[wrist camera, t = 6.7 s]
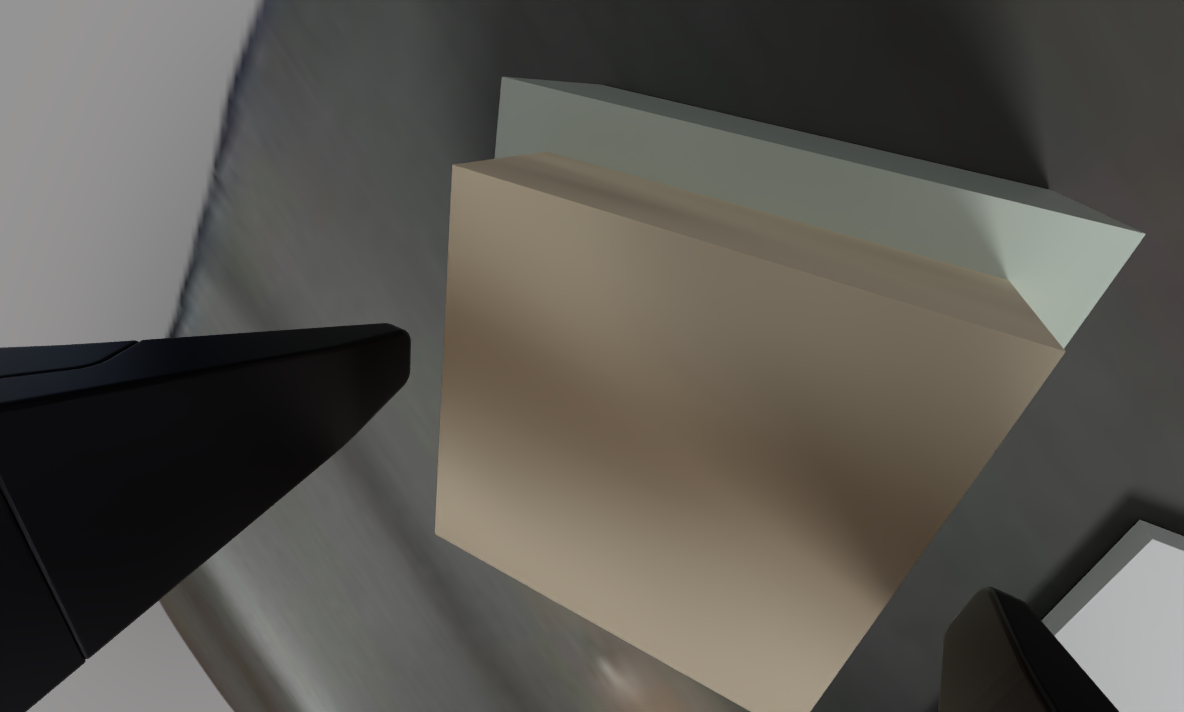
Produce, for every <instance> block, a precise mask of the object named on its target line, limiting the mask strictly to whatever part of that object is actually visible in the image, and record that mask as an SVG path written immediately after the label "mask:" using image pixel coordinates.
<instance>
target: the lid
mask: <svg viewBox="0 0 1184 712" xmlns="http://www.w3.org/2000/svg"><path fill="white" fill-rule="evenodd" d="M1065 352H1066V351H1065V350H1064V349H1063V347H1062V346H1061V345H1060V344H1059V342H1058V341H1057V340H1056V339H1055V337H1054V336H1053V335H1052V334H1051V332H1050V331H1049V330H1048V329H1047V327H1046V326H1045V325H1044V324H1043V322H1042V321H1041V320H1040V319H1039V317H1038V316H1037V315H1036V314H1035V312H1034V311H1033V310H1032V309H1031V307H1030V306H1029V305H1028V304H1027V302H1026V301H1025V300H1024V299H1023V297H1022V296H1021V295H1020V294H1019V292H1018V291H1017V290H1016V289H1015V287H1014V286H1013V285H1012V284H1011V282H1010V281H1009V280H1007V279H1004V278H1000V277H996V276H993V275H989V274H986V273H982V272H978V271H975V270H971V269H968V268H964V267H960V266H957V265H953V264H950V263H946V262H942V261H939V260H935V259H932V258H928V257H924V256H921V255H917V254H914V253H910V252H906V251H903V250H899V249H896V248H892V247H888V246H885V245H881V244H878V243H874V242H870V241H867V240H863V239H860V238H856V237H852V236H849V235H845V234H842V233H838V232H835V231H831V230H827V229H824V228H820V227H817V226H813V225H809V224H806V223H802V222H799V221H795V220H791V219H788V218H784V217H781V216H777V215H773V214H770V213H766V212H763V211H759V210H755V209H752V208H748V207H745V206H741V205H737V204H734V203H730V202H727V201H723V200H719V199H716V198H712V197H709V196H705V195H701V194H698V193H694V192H691V191H687V190H683V189H680V188H676V187H673V186H669V185H665V184H662V183H658V182H655V181H651V180H647V179H644V178H640V177H637V176H633V175H629V174H626V173H622V172H619V171H615V170H611V169H608V168H604V167H601V166H597V165H593V164H590V163H586V162H583V161H579V160H575V159H572V158H568V157H565V156H561V155H557V154H554V153H550V152H540V153H533V154H525V155H518V156H511V157H504V158H497V159H489V160H482V161H475V162H468V163H461V164H454V165H452V184H451V205H450V226H449V247H448V268H447V289H446V310H445V331H444V353H443V374H442V395H441V416H440V437H439V458H438V479H437V501H436V522H435V534H436V535H438V536H440V537H442V538H443V539H445V540H447V541H449V542H450V543H452V544H454V545H456V546H458V547H459V548H461V549H463V550H465V551H466V552H468V553H470V554H472V555H473V556H475V557H477V558H479V559H481V560H482V561H484V562H486V563H488V564H489V565H491V566H493V567H495V568H497V569H498V570H500V571H502V572H504V573H505V574H507V575H509V576H511V577H513V578H514V579H516V580H518V581H520V582H521V583H523V584H525V585H527V586H529V587H530V588H532V589H534V590H536V591H537V592H539V593H541V594H543V595H545V596H546V597H548V598H550V599H552V600H553V601H555V602H557V603H559V604H560V605H562V606H564V607H566V608H568V609H569V610H571V611H573V612H575V613H576V614H578V615H580V616H582V617H584V618H585V619H587V620H589V621H591V622H592V623H594V624H596V625H598V626H600V627H601V628H603V629H605V630H607V631H608V632H610V633H612V634H614V635H616V636H617V637H619V638H621V639H623V640H624V641H626V642H628V643H630V644H632V645H633V646H635V647H637V648H639V649H640V650H642V651H644V652H646V653H647V654H649V655H651V656H653V657H655V658H656V659H658V660H660V661H662V662H663V663H665V664H667V665H669V666H671V667H672V668H674V669H676V670H678V671H679V672H681V673H683V674H685V675H687V676H688V677H690V678H692V679H694V680H695V681H697V682H699V683H701V684H703V685H704V686H706V687H708V688H710V689H711V690H713V691H715V692H717V693H719V694H720V695H722V696H724V697H726V698H727V699H729V700H731V701H733V702H734V703H736V704H738V705H740V706H742V707H743V708H745V709H747V710H749V711H750V712H810V711H811V710H812V709H813V707H814V706H815V704H816V703H817V701H818V700H819V699H820V697H821V696H822V694H823V693H824V692H825V690H826V689H827V687H828V686H829V685H830V683H831V682H832V680H833V679H834V678H835V676H836V675H837V673H838V672H839V670H840V669H841V668H842V666H843V665H844V663H845V662H846V661H847V659H848V658H849V656H850V655H851V654H852V652H853V651H854V649H855V648H856V646H857V645H858V644H859V642H860V641H861V639H862V638H863V637H864V635H865V634H866V632H867V631H868V630H869V628H870V627H871V625H872V624H873V623H874V621H875V620H876V618H877V617H878V615H879V614H880V613H881V611H882V610H883V608H884V607H885V606H886V604H887V603H888V601H889V600H890V599H891V597H892V596H893V594H894V593H895V592H896V590H897V589H898V587H899V586H900V584H901V583H902V582H903V580H904V579H905V577H906V576H907V575H908V573H909V572H910V570H911V569H912V568H913V566H914V565H915V563H916V562H917V561H918V559H919V558H920V556H921V555H922V553H923V552H924V551H925V549H926V548H927V546H928V545H929V544H930V542H931V541H932V539H933V538H934V537H935V535H936V534H937V532H938V531H939V530H940V528H941V527H942V525H943V524H944V522H945V521H946V520H947V518H948V517H949V515H950V514H951V513H952V511H953V510H954V508H955V507H956V506H957V504H958V503H959V501H960V500H961V499H962V497H963V496H964V494H965V493H966V491H967V490H968V489H969V487H970V486H971V484H972V483H973V482H974V480H975V479H976V477H977V476H978V475H979V473H980V472H981V470H982V469H983V468H984V466H985V465H986V463H987V462H988V460H989V459H990V458H991V456H992V455H993V453H994V452H995V451H996V449H997V448H998V446H999V445H1000V444H1001V442H1002V441H1003V439H1004V438H1005V437H1006V435H1007V434H1008V432H1009V431H1010V429H1011V428H1012V427H1013V425H1014V424H1015V422H1016V421H1017V420H1018V418H1019V417H1020V415H1021V414H1022V413H1023V411H1024V410H1025V408H1026V407H1027V405H1028V404H1029V403H1030V401H1031V400H1032V398H1033V397H1034V396H1035V394H1036V393H1037V391H1038V390H1039V389H1040V387H1041V386H1042V384H1043V383H1044V382H1045V380H1046V379H1047V377H1048V376H1049V374H1050V373H1051V372H1052V370H1053V369H1054V367H1055V366H1056V365H1057V363H1058V362H1059V360H1060V359H1061V358H1062V356H1063V355H1064V353H1065Z"/></svg>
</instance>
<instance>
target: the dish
mask: <svg viewBox="0 0 1184 712" xmlns="http://www.w3.org/2000/svg"><path fill="white" fill-rule="evenodd" d="M540 152H550V153H554V154H557V155H561V156H565V157H568V158H572V159H575V160H579V161H583V162H586V163H590V164H593V165H597V166H601V167H604V168H608V169H611V170H615V171H619V172H622V173H626V174H629V175H633V176H637V177H640V178H644V179H647V180H651V181H655V182H658V183H662V184H665V185H669V186H673V187H676V188H680V189H683V190H687V191H691V192H694V193H698V194H701V195H705V196H709V197H712V198H716V199H719V200H723V201H727V202H730V203H734V204H737V205H741V206H745V207H748V208H752V209H755V210H759V211H763V212H766V213H770V214H773V215H777V216H781V217H784V218H788V219H791V220H795V221H799V222H802V223H806V224H809V225H813V226H817V227H820V228H824V229H827V230H831V231H835V232H838V233H842V234H845V235H849V236H852V237H856V238H860V239H863V240H867V241H870V242H874V243H878V244H881V245H885V246H888V247H892V248H896V249H899V250H903V251H906V252H910V253H914V254H917V255H921V256H924V257H928V258H932V259H935V260H939V261H942V262H946V263H950V264H953V265H957V266H960V267H964V268H968V269H971V270H975V271H978V272H982V273H986V274H989V275H993V276H996V277H1000V278H1004V279H1007V280H1009V281H1010V282H1011V284H1012V285H1013V286H1014V287H1015V289H1016V290H1017V291H1018V292H1019V294H1020V295H1021V296H1022V297H1023V299H1024V300H1025V301H1026V302H1027V304H1028V305H1029V306H1030V307H1031V309H1032V310H1033V311H1034V312H1035V314H1036V315H1037V316H1038V317H1039V319H1040V320H1041V321H1042V322H1043V324H1044V325H1045V326H1046V327H1047V329H1048V330H1049V331H1050V332H1051V334H1052V335H1053V336H1054V337H1055V339H1056V340H1057V341H1058V342H1059V344H1060V345H1061V346H1062V347H1063V349H1064V348H1065V346H1066V345H1067V344H1068V342H1069V341H1070V339H1071V338H1072V337H1073V335H1074V334H1075V332H1076V331H1077V330H1078V328H1079V327H1080V325H1081V324H1082V323H1083V321H1084V320H1085V318H1086V317H1087V316H1088V314H1089V313H1090V311H1091V310H1092V309H1093V307H1094V306H1095V304H1096V303H1097V302H1098V300H1099V299H1100V297H1101V296H1102V295H1103V293H1104V292H1105V290H1106V289H1107V288H1108V286H1109V285H1110V283H1111V282H1112V281H1113V279H1114V278H1115V276H1116V275H1117V274H1118V272H1119V271H1120V269H1121V268H1122V267H1123V265H1124V264H1125V262H1126V261H1127V260H1128V258H1129V257H1130V255H1131V254H1132V253H1133V251H1134V250H1135V248H1136V247H1137V246H1138V244H1139V243H1140V241H1141V240H1142V239H1143V237H1144V236H1145V233H1143V232H1141V231H1139V230H1136V229H1134V228H1132V227H1130V226H1128V225H1126V224H1123V223H1121V222H1119V221H1117V220H1115V219H1113V218H1110V217H1108V216H1106V215H1104V214H1102V213H1100V212H1097V211H1095V210H1093V209H1091V208H1089V207H1087V206H1084V205H1082V204H1080V203H1078V202H1076V201H1074V200H1071V199H1069V198H1067V197H1065V196H1063V195H1061V194H1058V193H1056V192H1054V191H1052V190H1048V189H1044V188H1040V187H1036V186H1031V185H1027V184H1023V183H1019V182H1014V181H1010V180H1006V179H1001V178H997V177H993V176H989V175H984V174H980V173H976V172H972V171H967V170H963V169H959V168H955V167H950V166H946V165H942V164H937V163H933V162H929V161H925V160H920V159H916V158H912V157H908V156H903V155H899V154H895V153H891V152H886V151H882V150H878V149H873V148H869V147H865V146H861V145H856V144H852V143H848V142H844V141H839V140H835V139H831V138H827V137H822V136H818V135H814V134H810V133H805V132H801V131H797V130H792V129H788V128H784V127H780V126H775V125H771V124H767V123H763V122H758V121H754V120H750V119H746V118H741V117H737V116H733V115H728V114H724V113H720V112H716V111H711V110H707V109H703V108H699V107H694V106H690V105H686V104H682V103H677V102H673V101H669V100H664V99H660V98H656V97H652V96H647V95H643V94H639V93H635V92H630V91H626V90H622V89H618V88H613V87H609V86H605V85H600V84H587V83H575V82H563V81H551V80H538V79H526V78H514V77H502V80H501V92H500V103H499V114H498V125H497V137H496V148H495V159H497V158H504V157H511V156H518V155H525V154H533V153H540Z"/></svg>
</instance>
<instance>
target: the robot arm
mask: <svg viewBox="0 0 1184 712" xmlns="http://www.w3.org/2000/svg"><path fill="white" fill-rule="evenodd" d="M410 354H411V339H410V336H409V333H408V332H407V331H405V330H403V329H401V328H399V327H396V326H394V325H392V324H388V323H380V324H366V325H351V326H337V327H323V328H308V329H294V330H280V331H265V332H251V333H236V334H222V335H208V336H193V337H179V338H164V339H151V340H142V341H140V342H138V341H121V342H106V343H89V344H72V345H55V346H31V347H8V348H7V347H6V348H0V712H26V711H27V710H29V709H30V708H31V707H32V706H33V705H35V704H36V703H37V702H38V701H39V700H41V699H42V698H43V697H44V696H45V695H47V694H48V693H49V692H50V691H51V690H52V689H54V688H55V687H56V686H57V685H59V684H60V683H61V682H62V681H63V680H65V679H66V678H67V677H68V676H69V675H71V674H72V673H73V672H74V671H75V670H77V669H78V668H79V667H80V666H81V665H82V664H84V663H85V659H89V658H90V657H91V656H92V655H94V654H95V653H96V652H97V651H99V650H100V649H101V648H102V647H103V646H105V645H106V644H107V643H108V642H109V641H111V640H112V639H113V638H114V637H115V636H116V635H118V634H119V633H120V632H121V631H123V630H124V629H125V628H126V627H127V626H129V625H130V624H131V623H132V622H133V621H135V620H136V619H137V618H138V617H139V616H140V615H142V614H143V613H144V612H145V611H147V610H148V609H149V608H150V607H151V606H153V605H154V604H155V603H156V602H157V601H159V600H160V599H161V598H162V597H163V596H165V595H166V594H167V593H168V592H169V591H171V590H172V589H173V588H174V587H175V586H177V585H178V584H179V583H180V582H181V581H183V580H184V579H185V578H186V577H187V576H189V575H190V574H191V573H192V572H193V571H195V570H196V569H197V568H198V567H199V566H201V565H202V564H203V563H204V562H205V561H207V560H208V559H209V558H210V557H211V556H213V555H214V554H215V553H216V552H217V551H219V550H220V549H221V548H222V547H223V546H225V545H226V544H227V543H228V542H229V541H231V540H232V539H233V538H234V537H235V536H237V535H238V534H239V533H240V532H241V531H243V530H244V529H245V528H246V527H247V526H249V525H250V524H251V523H252V522H253V521H255V520H256V519H257V518H258V517H259V516H261V515H262V514H263V513H264V512H265V511H267V510H268V509H269V508H270V507H271V506H273V505H274V504H275V503H276V502H277V501H279V500H280V499H281V498H282V497H283V496H285V495H286V494H287V493H288V492H289V491H291V490H292V489H293V488H294V487H295V486H297V485H298V484H299V483H300V482H301V481H303V480H304V479H305V478H306V477H307V476H309V475H310V474H311V473H312V472H313V471H315V470H316V469H317V468H318V467H319V466H321V465H322V464H323V463H324V462H325V461H327V460H328V459H329V458H330V457H331V456H333V455H334V454H335V453H336V452H337V451H338V450H339V449H341V448H342V447H343V446H344V445H345V444H346V443H347V442H348V441H349V440H350V439H351V438H353V437H354V436H355V435H356V434H357V433H358V432H359V431H360V430H361V429H362V428H363V427H364V426H365V425H366V423H367V422H368V421H369V420H370V419H371V418H372V417H373V416H374V415H375V414H376V413H377V412H378V411H379V410H380V409H381V408H382V407H383V406H384V405H385V404H386V403H387V402H388V401H389V400H390V399H391V398H392V397H393V396H394V395H395V394H396V393H397V392H398V391H399V390H400V389H401V388H402V387H403V386H404V385H405V383H406V382H407V380H408V378H409V375H410ZM938 712H1119V711H1118V709H1117V708H1116V707H1115V706H1114V705H1113V704H1112V702H1111V701H1110V700H1109V699H1108V698H1107V697H1106V695H1105V694H1104V693H1103V692H1102V691H1101V690H1100V688H1099V687H1098V686H1097V685H1096V684H1095V683H1094V681H1093V680H1092V679H1091V678H1090V677H1089V676H1088V675H1087V673H1086V672H1085V671H1084V670H1083V669H1082V668H1081V666H1080V665H1079V664H1078V663H1077V662H1076V661H1075V659H1074V658H1073V657H1072V656H1071V655H1070V654H1069V652H1068V651H1067V650H1066V649H1065V648H1064V647H1063V645H1062V644H1061V643H1060V642H1059V641H1058V640H1057V638H1056V637H1055V636H1054V635H1053V634H1052V633H1051V631H1050V630H1049V629H1048V628H1047V627H1046V626H1045V625H1044V623H1043V622H1042V621H1041V620H1040V619H1039V618H1038V616H1037V615H1036V614H1035V613H1034V612H1033V611H1032V609H1031V608H1030V607H1029V606H1028V605H1027V604H1026V603H1025V602H1023V601H1022V600H1020V599H1018V598H1016V597H1013V596H1011V595H1009V594H1007V593H1004V592H1002V591H1000V590H997V589H995V588H993V587H982V588H981V589H979V590H978V591H977V592H976V593H975V594H974V595H973V596H972V597H971V599H970V600H969V601H968V602H967V603H966V605H965V606H964V607H963V608H962V609H961V611H960V612H959V613H958V614H957V615H956V617H955V618H954V619H953V620H952V621H951V623H950V624H949V626H948V627H947V629H946V632H945V635H944V639H943V650H942V664H941V679H940V694H939V708H938Z"/></svg>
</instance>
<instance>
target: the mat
mask: <svg viewBox="0 0 1184 712" xmlns="http://www.w3.org/2000/svg"><path fill="white" fill-rule="evenodd" d="M1042 622H1043V623H1044V625H1045V626H1046V627H1047V628H1048V629H1049V630H1050V631H1051V633H1052V634H1053V635H1054V636H1055V637H1056V638H1057V640H1058V641H1059V642H1060V643H1061V644H1062V645H1063V647H1064V648H1065V649H1066V650H1067V651H1068V652H1069V654H1070V655H1071V656H1072V657H1073V658H1074V659H1075V661H1076V662H1077V663H1078V664H1079V665H1080V666H1081V668H1082V669H1083V670H1084V671H1085V672H1086V673H1087V675H1088V676H1089V677H1090V678H1091V679H1092V680H1093V681H1094V683H1095V684H1096V685H1097V686H1098V687H1099V688H1100V690H1101V691H1102V692H1103V693H1104V694H1105V695H1106V697H1107V698H1108V699H1109V700H1110V701H1111V702H1112V704H1113V705H1114V706H1115V707H1116V708H1117V709H1118V711H1119V712H1184V536H1182V535H1179V534H1176V533H1174V532H1171V531H1169V530H1166V529H1163V528H1161V527H1158V526H1155V525H1153V524H1150V523H1147V522H1145V521H1142V520H1139V521H1138V522H1137V523H1136V524H1135V525H1134V526H1133V527H1132V528H1131V529H1130V530H1129V531H1128V532H1127V533H1126V534H1125V535H1124V536H1123V537H1122V538H1121V539H1120V540H1119V541H1118V543H1117V544H1116V545H1115V546H1114V547H1113V548H1112V549H1111V550H1110V551H1109V552H1108V553H1107V554H1106V555H1105V556H1104V557H1103V558H1102V559H1101V560H1100V561H1099V562H1098V563H1097V564H1096V565H1095V566H1094V567H1093V568H1092V569H1091V570H1090V571H1089V572H1088V573H1087V574H1086V575H1085V576H1084V577H1083V578H1082V580H1081V581H1080V582H1079V583H1078V584H1077V585H1076V586H1075V587H1074V588H1073V589H1072V590H1071V591H1070V592H1069V593H1068V594H1067V595H1066V596H1065V597H1064V598H1063V599H1062V600H1061V601H1060V602H1059V603H1058V604H1057V605H1056V606H1055V607H1054V608H1053V609H1052V610H1051V611H1050V612H1049V613H1048V614H1047V615H1046V617H1045V618H1044V619H1043V620H1042Z"/></svg>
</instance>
